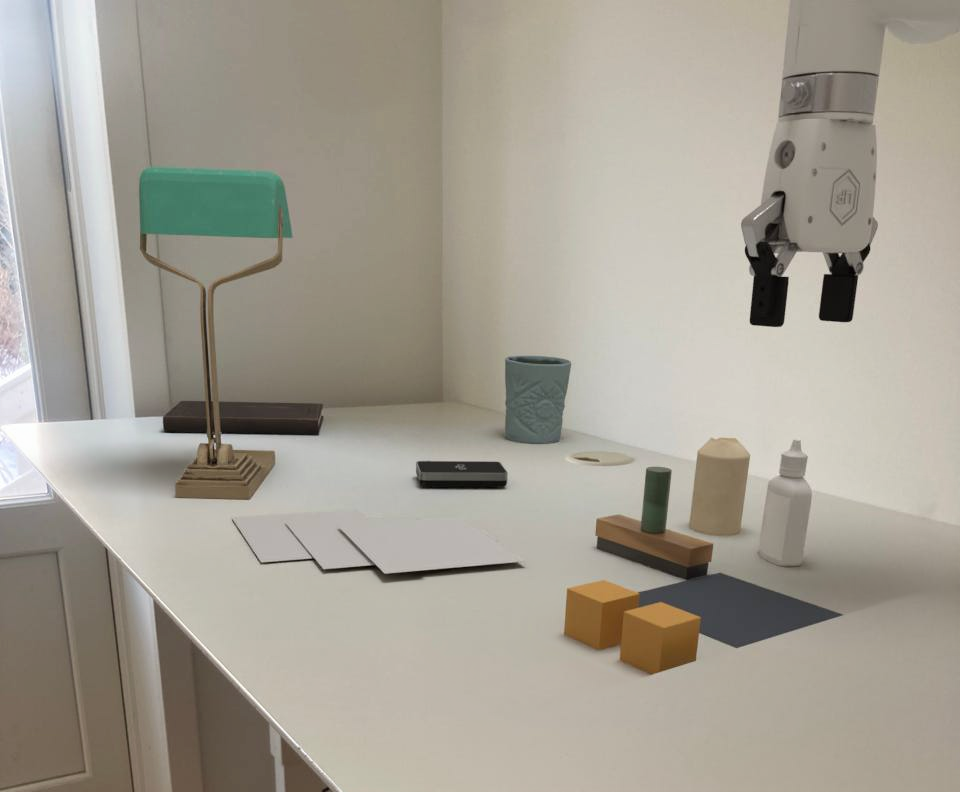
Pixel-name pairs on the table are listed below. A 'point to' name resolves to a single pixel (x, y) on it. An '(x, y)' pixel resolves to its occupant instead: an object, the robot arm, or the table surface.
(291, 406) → the hardcover book
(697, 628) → the cube
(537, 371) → the embossed green cup
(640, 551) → the brush
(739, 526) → the candle
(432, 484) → the external hard drive
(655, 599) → the mat
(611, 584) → the cube
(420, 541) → the paper stack
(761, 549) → the eye dropper bottle
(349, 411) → the table surface
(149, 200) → the banker's lamp
